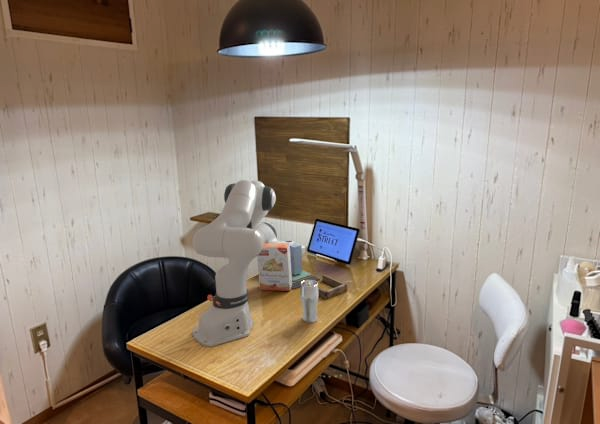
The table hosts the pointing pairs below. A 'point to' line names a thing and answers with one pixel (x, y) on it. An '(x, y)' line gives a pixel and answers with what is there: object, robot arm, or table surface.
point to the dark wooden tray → (337, 290)
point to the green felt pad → (300, 276)
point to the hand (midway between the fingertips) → (296, 257)
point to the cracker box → (275, 267)
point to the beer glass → (309, 300)
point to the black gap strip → (298, 283)
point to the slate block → (296, 258)
